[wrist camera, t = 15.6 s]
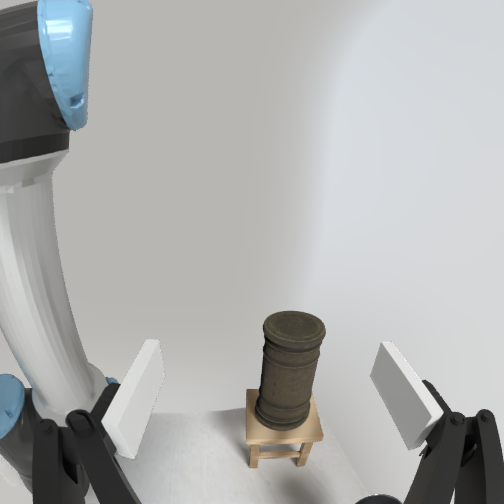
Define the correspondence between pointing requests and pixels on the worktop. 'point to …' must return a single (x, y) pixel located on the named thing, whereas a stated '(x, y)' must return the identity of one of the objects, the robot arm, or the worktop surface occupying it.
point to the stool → (280, 433)
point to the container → (288, 369)
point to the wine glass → (379, 499)
